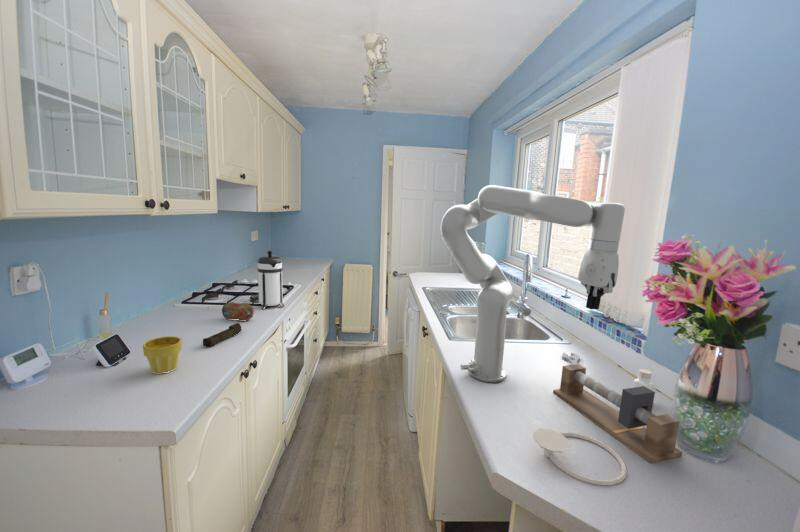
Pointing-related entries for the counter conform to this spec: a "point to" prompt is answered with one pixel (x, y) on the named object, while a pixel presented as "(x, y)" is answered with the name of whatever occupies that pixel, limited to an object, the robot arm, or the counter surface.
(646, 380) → the salt shaker
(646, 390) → the collar
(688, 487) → the counter surface
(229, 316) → the tin
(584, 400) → the pipe stand
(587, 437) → the hand towel holder
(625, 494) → the counter surface
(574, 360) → the adjustable wrench
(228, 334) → the hand tool
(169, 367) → the plant pot
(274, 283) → the coffee press
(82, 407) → the counter surface
